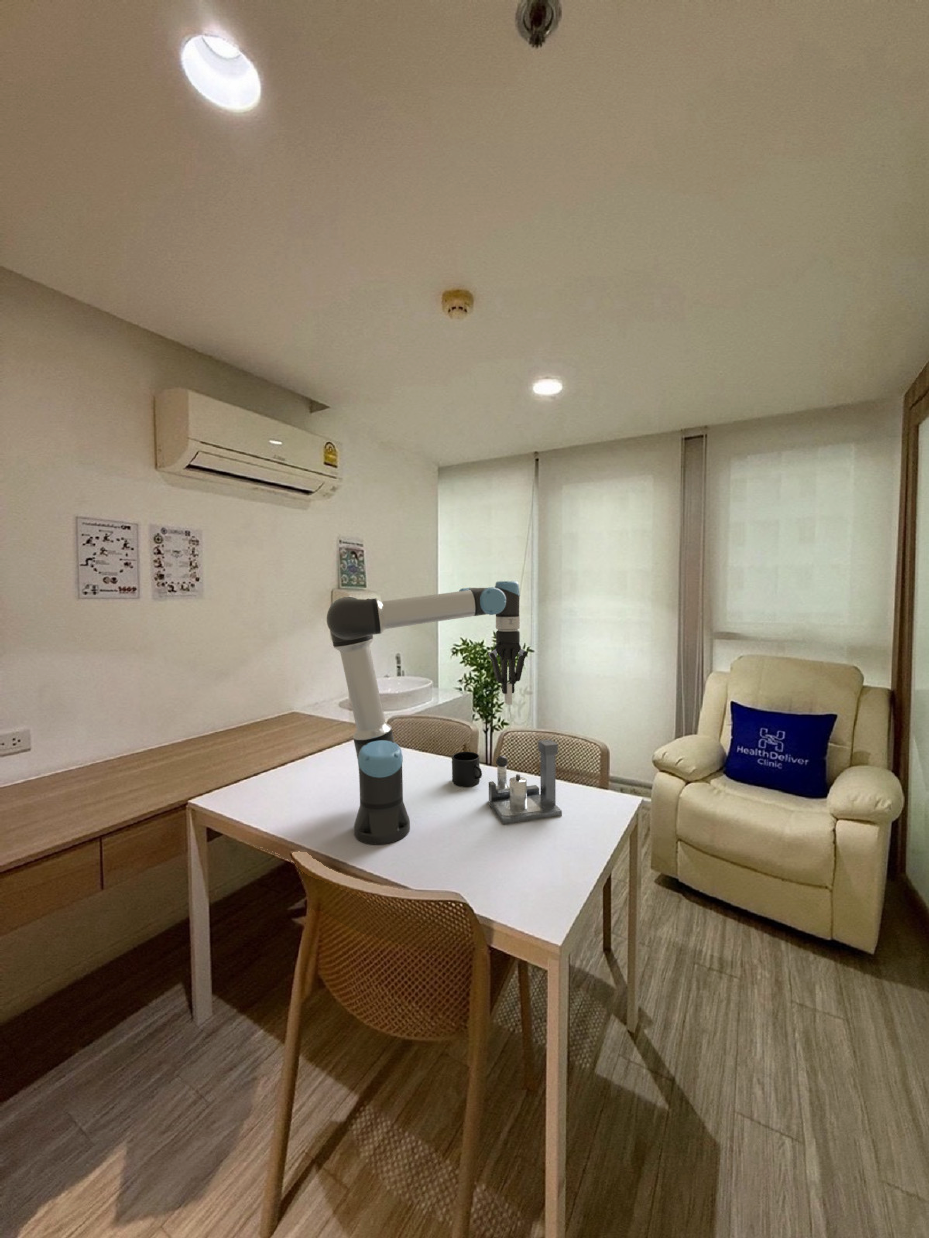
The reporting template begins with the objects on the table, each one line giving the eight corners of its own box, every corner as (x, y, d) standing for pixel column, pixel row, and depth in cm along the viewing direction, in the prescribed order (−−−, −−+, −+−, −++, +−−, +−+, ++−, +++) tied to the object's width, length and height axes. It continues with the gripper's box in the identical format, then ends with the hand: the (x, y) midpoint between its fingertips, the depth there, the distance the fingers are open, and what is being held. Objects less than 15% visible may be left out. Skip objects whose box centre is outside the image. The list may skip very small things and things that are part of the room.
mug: (472, 792, 157) (471, 765, 156) (446, 782, 165) (446, 756, 164) (491, 783, 163) (490, 757, 163) (465, 774, 172) (465, 749, 171)
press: (503, 824, 135) (503, 754, 133) (485, 801, 150) (485, 738, 149) (563, 815, 140) (563, 747, 139) (540, 793, 155) (539, 732, 154)
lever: (498, 793, 148) (497, 758, 147) (494, 788, 151) (493, 754, 150) (510, 791, 149) (509, 756, 148) (506, 787, 152) (505, 753, 151)
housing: (513, 811, 139) (513, 779, 138) (507, 803, 144) (507, 772, 143) (529, 808, 140) (529, 777, 140) (522, 801, 145) (522, 770, 145)
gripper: (492, 631, 147) (492, 707, 148) (531, 630, 150) (531, 704, 152) (484, 629, 154) (485, 702, 155) (522, 628, 158) (522, 699, 159)
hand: (508, 703), depth 154 cm, fingers closed
